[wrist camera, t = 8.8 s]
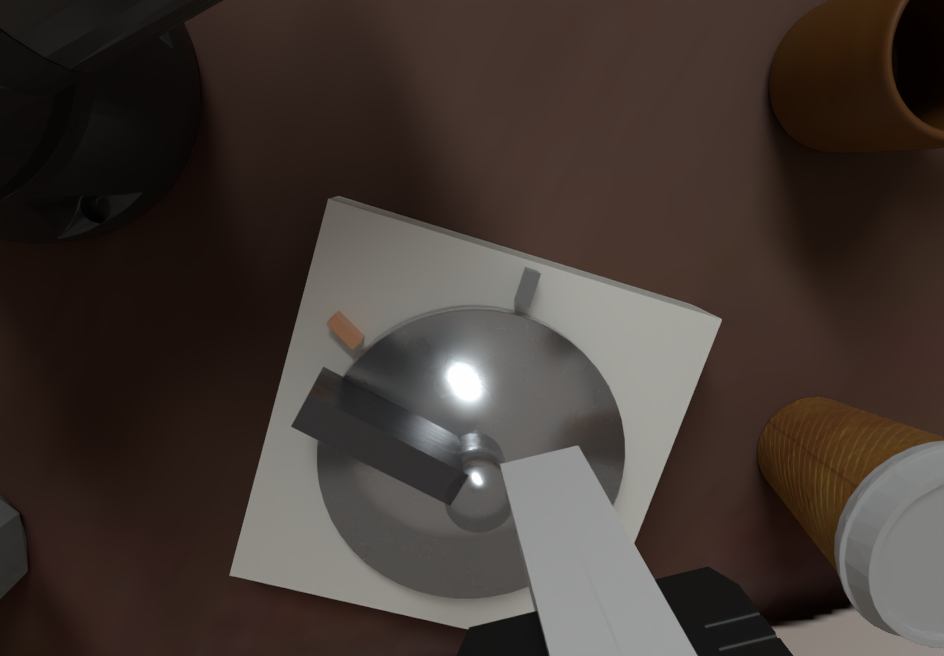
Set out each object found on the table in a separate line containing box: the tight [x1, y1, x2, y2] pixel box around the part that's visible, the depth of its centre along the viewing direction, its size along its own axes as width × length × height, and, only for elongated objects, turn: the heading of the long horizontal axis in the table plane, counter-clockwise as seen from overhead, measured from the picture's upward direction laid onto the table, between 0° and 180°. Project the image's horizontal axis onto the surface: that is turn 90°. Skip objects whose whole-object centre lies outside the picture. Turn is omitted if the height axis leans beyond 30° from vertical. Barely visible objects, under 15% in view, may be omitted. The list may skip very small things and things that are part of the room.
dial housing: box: [230, 196, 722, 629], centre depth 35 cm, size 20×20×5 cm
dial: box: [291, 305, 625, 599], centre depth 31 cm, size 16×15×5 cm
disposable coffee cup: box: [757, 397, 944, 648], centre depth 34 cm, size 10×10×12 cm
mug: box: [769, 0, 944, 153], centre depth 31 cm, size 12×8×9 cm, turn 90°
